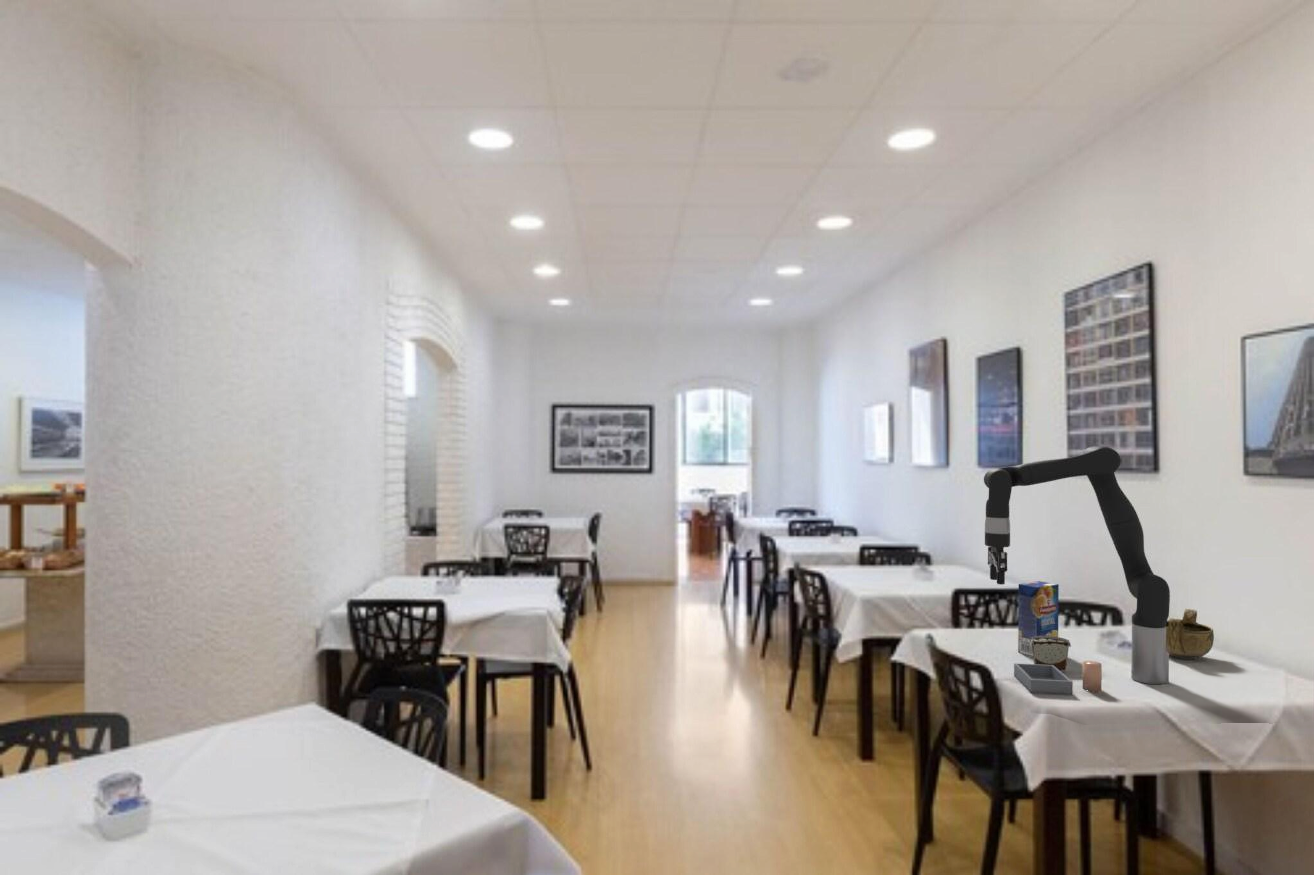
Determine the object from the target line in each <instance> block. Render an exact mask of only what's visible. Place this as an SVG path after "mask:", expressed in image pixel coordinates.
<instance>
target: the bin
mask: <svg viewBox="0 0 1314 875" xmlns="http://www.w3.org/2000/svg"><path fill="white" fill-rule="evenodd" d="M1013 677H1014V678H1016V680H1017V681H1018V682H1019V683H1020V684H1021V685H1022V686H1023V687H1024V689H1026V690H1027V691H1028V692H1029V693H1030V694H1036V695H1037V694H1039V695H1041V694H1042V695H1059V696H1073V692H1074V690H1073V684H1074V683H1073V681H1072V680H1071V679H1070V678H1069V677H1068V676H1066V675H1065V674H1064V673H1063V671H1059V670H1058V669H1057V668H1056V667H1055V666H1054V665H1041V664H1034V663H1017V662H1015V663H1013Z"/></svg>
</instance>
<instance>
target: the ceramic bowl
mask: <svg viewBox="0 0 1314 875" xmlns="http://www.w3.org/2000/svg"><path fill="white" fill-rule="evenodd" d="M1197 618H1198V611H1197V610H1196V609H1190V608H1185V609H1184V611H1183V616H1182V619H1180V618H1173V617H1172V618H1171V617H1170V618H1168V620H1167V622H1166V651H1167V652H1168V653H1169V656H1171V657H1174V658H1178V659H1182V660H1183V659H1184V660H1194V659H1198V658H1202V657H1204V656H1205V655H1207V654H1208V653H1209V652H1210V651H1211V650H1212V648H1213V645H1214V640H1215V636H1214V635H1215V634H1214V628H1212V627H1211V626H1209V625H1205V624H1200V623H1198V622H1197Z"/></svg>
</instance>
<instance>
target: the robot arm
mask: <svg viewBox="0 0 1314 875" xmlns="http://www.w3.org/2000/svg"><path fill="white" fill-rule="evenodd" d="M1121 463H1122V459H1121V456H1120V454H1119V453H1118V452H1117V451H1116V449H1113V448H1112V447H1108V446H1101V445H1100V446H1099V445H1095V446H1089V447H1088V448H1086V449H1085V450H1084V451H1083V452H1082V454H1079V455H1076V456H1075V455H1074V456H1071V457H1064V458H1056V459H1046V460H1045V459H1044V460H1039V461H1037V460H1036V461H1031V462H1027V463H1023V464H1018V465H1013V466H1004V467H1002V466H1001V467H996V468H992V469H990V470H988V471H987V472H986V473H985V474H984V476H983V483H984V485H985V486H986V487H987V488H988V498H987V500H986V502H985V521H984V545H985V546H986V547H987V565H988V567H989V580H991V581H996V584H997V585H1005V583H1006V582H1005V579H1006V577H1005V575H1006V573H1007V572H1008V553H1007V551H1005V550H1004V548H1009V547H1011V520H1010V502H1011V495H1012V488H1013V487H1025V486H1028V487H1029V486H1033V485H1039V484H1042V483H1050V482H1053V481H1058V480H1062V479H1068V478H1075V477H1083V476H1087V479H1088V481H1089V482H1090V484H1091V486H1092V489H1093V492H1094V493H1095V496H1096V498H1097V499H1096V500H1097V503H1098V505H1099V508H1100V511H1101V514H1102V516H1103V519H1104V523H1105V525H1106V528H1107V530H1108V533H1109V535H1110V539H1111V540H1112V543H1113V544H1114V545H1113V546H1114V548H1115V550H1116V553H1117V555H1118V557H1119V559H1120V562H1121V565H1122V569H1123V572H1124V576H1125V581H1126V585H1127V587H1128V588H1127V589H1128V590H1129V593H1130V594H1131V595H1132V596H1133V597H1134V598H1135V599H1136V611H1135V612H1134V613H1133V614H1132V615H1131V666H1130V667H1131V671H1130V672H1131V679H1132V680H1134V681H1137V682H1139V683H1145V684H1150V685H1151V684H1152V685H1163V684H1169V683H1170V678H1169V677H1170V655H1169V653H1168V652H1167V651H1166V622H1167V621H1168V620H1169V617H1170V602H1171V601H1170V600H1171V598H1170V597H1171V594H1170V593H1171V591H1170V586H1169V584H1168V582H1167V580H1165V579H1164V578H1163V577H1161V576H1159V575H1156V574H1154V572H1153V570H1152V568H1151V566H1150V564H1149V562H1148V559H1147V556H1146V553H1145V538H1144V537H1145V535H1144V529H1143V527H1142V523H1141V520H1140V519H1139V515H1138V513H1137V511H1136V510H1135V508H1134V506H1133V503H1132V502H1131V501H1130V500H1129V498H1128V497H1127V496H1126V494H1125V493H1124V492H1123V490H1122V488H1121V486H1120V485H1119V483H1118V480H1117V477H1116V474H1115V473H1116V472H1117V471H1118V470H1119V469H1120V466H1121Z"/></svg>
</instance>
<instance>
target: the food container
mask: <svg viewBox="0 0 1314 875" xmlns="http://www.w3.org/2000/svg"><path fill="white" fill-rule="evenodd" d="M1030 645H1031V646H1033V655H1034V656H1033V664H1041V665H1054V666H1055V667H1056V668H1057V669H1058V670H1059V671H1061V672H1067V666H1068V658H1069V657H1068V656H1069V648H1070V647H1071V646H1072V645H1071V642H1070V639H1067V638H1064V637H1059V636H1058V637H1054V636H1035V637H1032V639H1031V643H1030Z"/></svg>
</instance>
